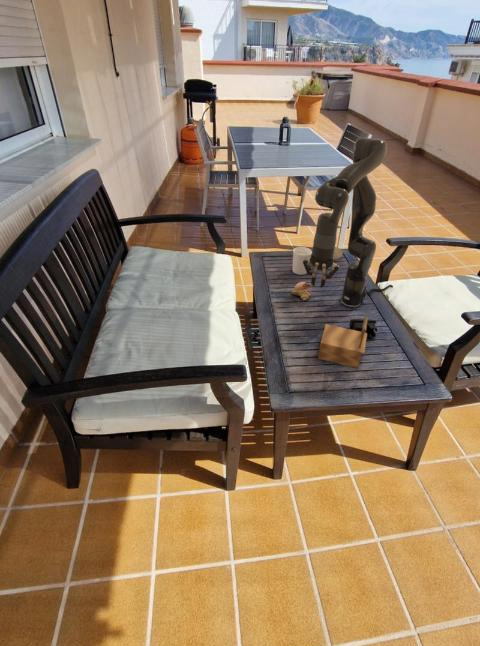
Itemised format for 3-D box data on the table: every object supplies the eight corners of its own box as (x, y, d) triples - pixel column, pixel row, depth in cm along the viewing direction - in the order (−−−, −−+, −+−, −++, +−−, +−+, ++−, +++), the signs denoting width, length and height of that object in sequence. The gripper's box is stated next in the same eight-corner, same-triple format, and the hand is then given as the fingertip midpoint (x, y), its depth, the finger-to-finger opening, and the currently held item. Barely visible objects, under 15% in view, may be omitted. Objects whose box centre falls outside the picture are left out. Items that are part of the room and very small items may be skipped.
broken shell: (315, 302, 186) (306, 294, 179) (296, 306, 191) (287, 298, 184) (314, 285, 190) (306, 277, 182) (296, 289, 195) (287, 281, 188)
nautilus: (305, 266, 215) (302, 255, 228) (344, 265, 215) (339, 254, 228) (306, 253, 211) (303, 242, 224) (346, 252, 211) (340, 241, 224)
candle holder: (309, 276, 206) (312, 255, 199) (291, 275, 205) (293, 254, 199) (308, 267, 214) (310, 247, 207) (290, 266, 214) (292, 246, 207)
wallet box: (360, 348, 159) (364, 334, 155) (357, 368, 149) (361, 354, 145) (323, 339, 162) (325, 325, 158) (317, 358, 153) (320, 344, 148)
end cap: (370, 329, 170) (374, 316, 166) (375, 339, 164) (379, 326, 160) (348, 328, 169) (351, 316, 165) (351, 339, 163) (355, 326, 160)
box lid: (366, 334, 155) (372, 314, 149) (364, 354, 145) (369, 334, 139) (325, 325, 158) (329, 305, 153) (320, 344, 148) (324, 324, 143)
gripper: (345, 242, 137) (337, 284, 147) (307, 236, 140) (301, 277, 150) (343, 251, 131) (334, 294, 141) (302, 244, 134) (297, 287, 144)
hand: (317, 285), depth 146 cm, fingers closed
